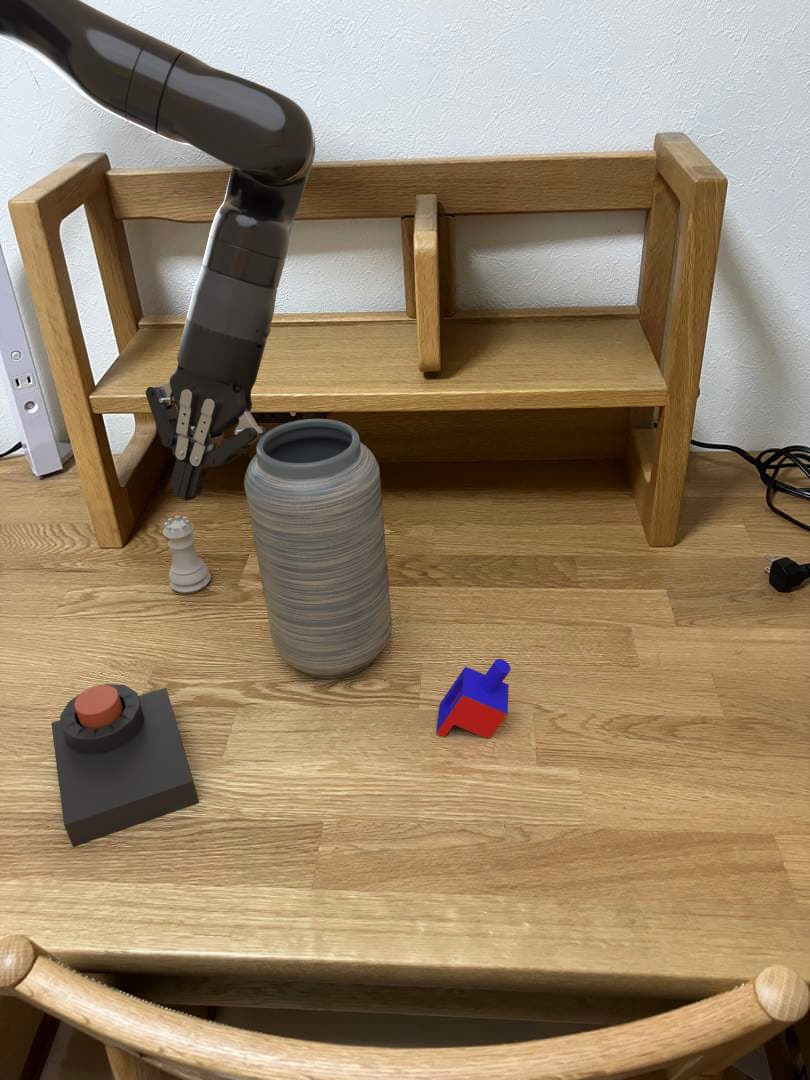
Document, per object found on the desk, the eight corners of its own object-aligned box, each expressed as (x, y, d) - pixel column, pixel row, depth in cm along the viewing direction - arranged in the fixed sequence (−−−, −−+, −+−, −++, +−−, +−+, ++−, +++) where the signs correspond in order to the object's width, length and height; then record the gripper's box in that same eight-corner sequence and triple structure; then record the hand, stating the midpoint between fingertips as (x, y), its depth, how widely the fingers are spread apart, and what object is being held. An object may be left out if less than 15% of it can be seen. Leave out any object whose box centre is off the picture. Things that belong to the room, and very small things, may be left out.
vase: (332, 598, 95) (307, 399, 82) (418, 641, 88) (405, 431, 75) (250, 657, 87) (209, 449, 75) (336, 708, 81) (307, 490, 68)
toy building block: (479, 751, 78) (523, 692, 73) (435, 733, 77) (477, 673, 73) (481, 721, 81) (523, 663, 76) (439, 704, 80) (479, 644, 76)
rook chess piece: (219, 583, 98) (205, 522, 94) (182, 601, 96) (167, 538, 91) (199, 566, 101) (185, 506, 97) (163, 583, 99) (147, 522, 94)
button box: (58, 738, 80) (44, 701, 77) (170, 703, 83) (160, 667, 80) (73, 847, 70) (57, 809, 67) (199, 803, 73) (188, 765, 70)
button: (77, 707, 77) (72, 692, 76) (119, 694, 78) (114, 679, 77) (81, 734, 74) (76, 719, 73) (125, 721, 75) (120, 706, 74)
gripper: (145, 300, 81) (105, 477, 86) (268, 348, 78) (219, 529, 83) (192, 305, 88) (152, 468, 93) (307, 349, 85) (259, 516, 90)
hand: (184, 497), depth 88 cm, fingers closed
